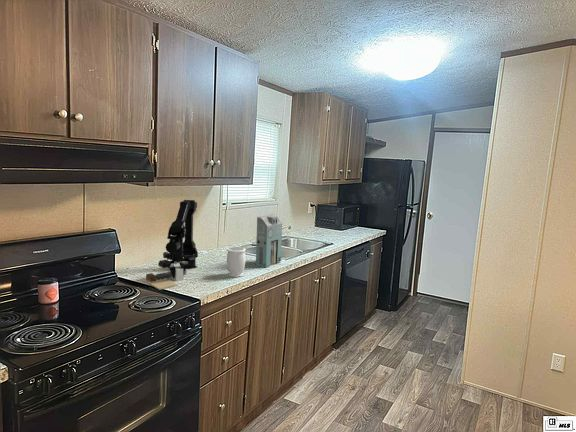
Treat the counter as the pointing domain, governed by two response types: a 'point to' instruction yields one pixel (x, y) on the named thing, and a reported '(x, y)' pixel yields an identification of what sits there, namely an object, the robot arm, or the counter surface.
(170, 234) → the robot arm
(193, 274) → the counter surface
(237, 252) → the jar
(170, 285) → the mat
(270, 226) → the device
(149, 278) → the block
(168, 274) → the grey rounded rod
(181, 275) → the white rectangular block
